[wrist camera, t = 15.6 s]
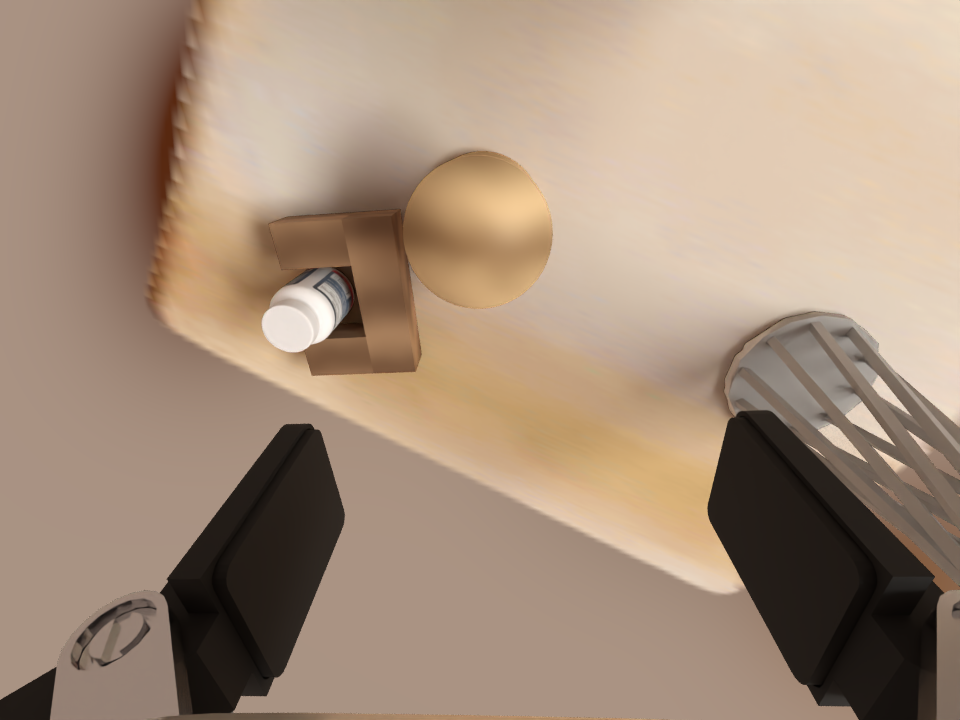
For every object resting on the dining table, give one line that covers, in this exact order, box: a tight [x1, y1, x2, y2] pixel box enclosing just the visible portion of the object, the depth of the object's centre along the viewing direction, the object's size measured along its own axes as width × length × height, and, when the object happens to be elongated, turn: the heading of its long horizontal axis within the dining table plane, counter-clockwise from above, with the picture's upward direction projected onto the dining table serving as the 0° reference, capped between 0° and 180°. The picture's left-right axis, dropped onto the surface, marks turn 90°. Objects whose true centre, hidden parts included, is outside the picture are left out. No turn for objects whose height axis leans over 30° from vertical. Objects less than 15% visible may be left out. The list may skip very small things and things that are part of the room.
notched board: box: [269, 209, 422, 376], centre depth 39 cm, size 14×10×4 cm
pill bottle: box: [262, 267, 354, 352], centre depth 36 cm, size 5×5×9 cm
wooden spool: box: [403, 151, 553, 309], centre depth 33 cm, size 10×10×9 cm
